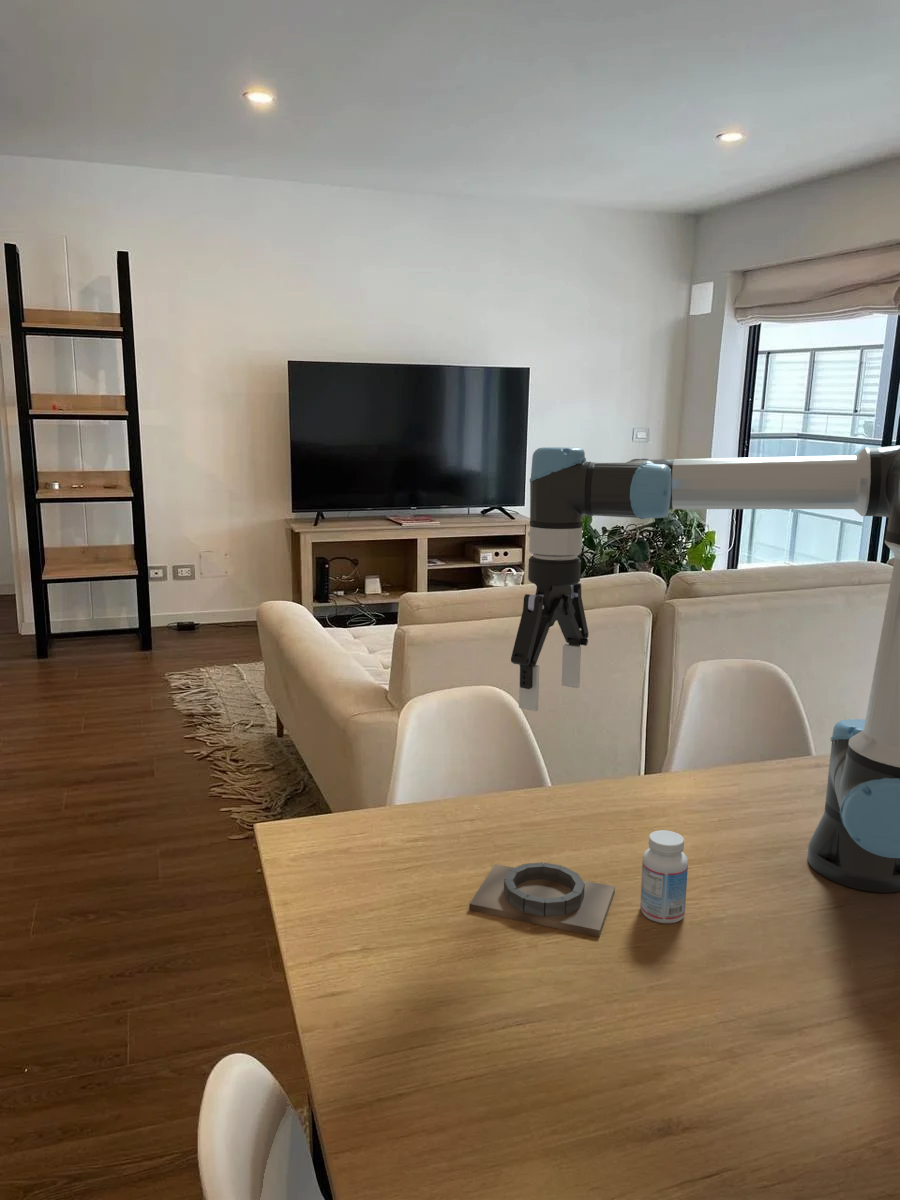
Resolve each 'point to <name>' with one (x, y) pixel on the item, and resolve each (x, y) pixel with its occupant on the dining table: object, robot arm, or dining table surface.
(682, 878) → the pill bottle
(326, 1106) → the dining table surface
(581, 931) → the holder
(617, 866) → the dining table surface
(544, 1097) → the dining table surface
